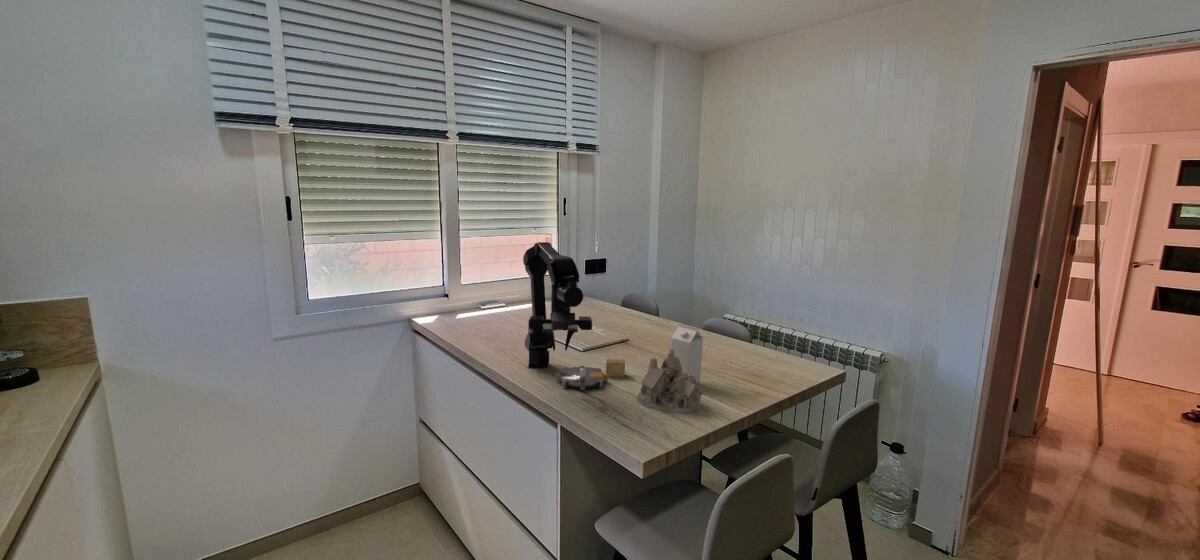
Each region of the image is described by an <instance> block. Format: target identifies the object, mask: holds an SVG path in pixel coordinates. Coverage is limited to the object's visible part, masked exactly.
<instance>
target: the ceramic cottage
mask: <svg viewBox="0 0 1200 560" xmlns="http://www.w3.org/2000/svg"><path fill="white" fill-rule="evenodd" d="M640 384H641V387H640V391H639V392H638V394H637V399H636V401H637V402H638V403H639V404H640V405H642V406H644V407H647V408H649V409H652V410H653V409H654V410H659V411H665V412H671V413H677V414H683V415H684V414H685V415H686V414H691V413H693V412H695V411H696V412H699V411H701V409H702V407H701V403H700V401H701V397H702V395H703V391H702V390H701V389H700V387H699V385H698V384H697V383H696V380H695V377H694V375H693V374H690V375H689V376H688V375H687V373H685V372H682V367H681V363H680V361H679V358H678V357H675V356H674V351H673V349H671V348H669V350H668V352H667V353H666V357H665V358H664V360H663V362H662V363H661V367H660V368H659V367H658V359H657V358H656V357H651V358H650V361H649V366H648V371H647V373H646V374H645V376H644V377H643V379H642V381H640ZM698 410H699V411H698Z"/></svg>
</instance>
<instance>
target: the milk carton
mask: <svg viewBox="0 0 1200 560" xmlns="http://www.w3.org/2000/svg"><path fill="white" fill-rule="evenodd" d="M698 329H699V328H698V327H696V326H691V325H689V324H688V325H687V324H685V323H684V324H683V323H680V322H679V323H678V327H677V328H676V330H675V332H674V333H673V334H672V336H671V345H670V346H671V347H670V349H673V351H674V356H675V357H678V358H679V361H680V363H681V367H682V372H685V373H687V375H688V376H689V375H690V374H693V375H694V377H695V380H696V383H697V385H698V384H700V383H701V374H702V373H701V371H702V359H703V347H704V346H703V345H704V344H703V343H704V338H703V336H702V335H701V333H700V332H699V330H698Z"/></svg>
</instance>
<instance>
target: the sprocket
mask: <svg viewBox="0 0 1200 560" xmlns="http://www.w3.org/2000/svg"><path fill="white" fill-rule="evenodd" d="M555 381H559V382H560V383H561V387H563V388H573V389H579V390H580V391H585V389H593V388H603V386H604V383H605V382H608V381H609V377H608V374H606V373H604V372H603V371H602V369H601V368H600V367H596V368H594V367H589V366H585V365H579V366H575V367H574V366H573V367H564V368H563V367H562V370H561V372H560V373H556V377H555Z"/></svg>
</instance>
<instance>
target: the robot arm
mask: <svg viewBox="0 0 1200 560" xmlns="http://www.w3.org/2000/svg"><path fill="white" fill-rule="evenodd" d="M522 258H523V259H522V262H523V265H524V270H525V272H526V273H527V274H528V276H529V279H530V289H531V290H530V292H531V293H530V294H531V295H530V297H531V312H532V313H531V314H532V315H531V316H530V317H529V318H528V319H529V320H528V324H527V325H528V329H527V330H528V332H527V334H526V337H525V339H524V347H525V348H526V349H527V351H528V365H527V368H536V369H537V368H539V369H543V368H544V369H546V368H548V366H549V365H550V350H549V349H553V351H554V352H555V351H556V338H555V331H565V332H566V331H567V332H566V338H565V345H564V346H565V347H564V351H568V347H569V344H570V342H571V339H572V337H573V335H574V334H575V333H578V331H579V330H578V329H580V330H582V331H592V330H593V318H592V317H591V316H581V315H580V316H578V319H576V312H571V307H572V308H575V307H578V306H579V305H580V304H581V303H582V302H583V299H584V294H583V291H582V289H581V288H579V287H578V283H580V273H579V271H578V268H577V265H576V261H574V258H572V257H570V256H567V255H562V254H561V253H559V252H558V250H556V249H555V248H554V247H553V246H552V243H551V242H548V241H545V242H544V241H542V242H541V241H538V242H536V243H534V245H533V246H530V248H528V249H527V250H526V251H525V253H524V254H523V257H522ZM547 272H548V275H549V278H550V282H551V303H550V308H551V309H550V318H547V307H546V306H547V304H546V290H545V289H546V287H545V276H546V274H547Z"/></svg>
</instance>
